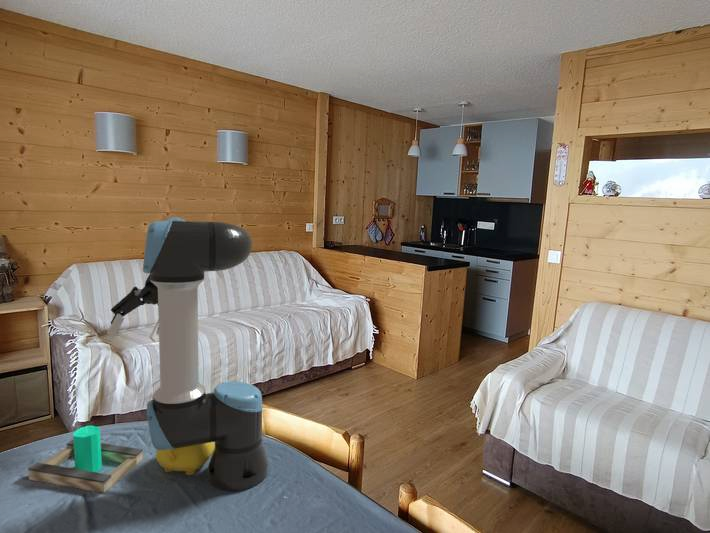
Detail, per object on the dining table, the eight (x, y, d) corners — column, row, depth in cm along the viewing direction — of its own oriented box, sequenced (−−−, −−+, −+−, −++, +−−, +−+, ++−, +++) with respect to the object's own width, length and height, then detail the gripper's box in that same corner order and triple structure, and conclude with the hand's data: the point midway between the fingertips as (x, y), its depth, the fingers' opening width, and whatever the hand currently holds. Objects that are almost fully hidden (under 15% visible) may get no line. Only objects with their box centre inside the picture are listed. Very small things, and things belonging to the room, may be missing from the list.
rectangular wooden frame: (142, 459, 118) (142, 449, 118) (104, 492, 105) (103, 481, 104) (74, 448, 122) (74, 438, 122) (29, 479, 108) (28, 468, 108)
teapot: (227, 445, 127) (227, 404, 125) (192, 489, 107) (191, 441, 106) (184, 439, 129) (183, 399, 127) (141, 481, 109) (140, 435, 108)
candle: (89, 478, 110) (87, 433, 108) (68, 474, 111) (66, 429, 109) (107, 464, 116) (105, 421, 114) (87, 460, 117) (85, 418, 115)
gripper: (203, 287, 140) (176, 347, 127) (132, 281, 144) (100, 339, 132) (193, 273, 134) (165, 335, 121) (120, 267, 138) (85, 327, 126)
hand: (131, 337), depth 126 cm, fingers open, 13 cm apart
